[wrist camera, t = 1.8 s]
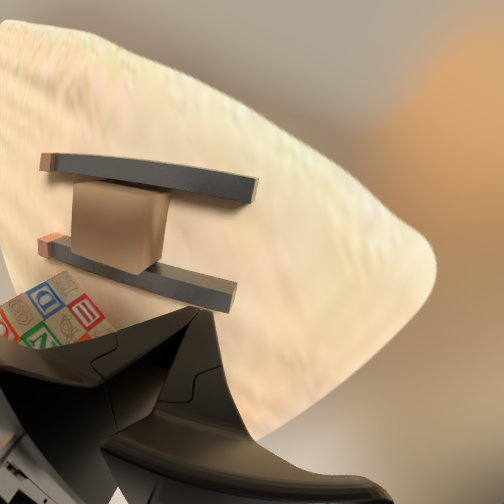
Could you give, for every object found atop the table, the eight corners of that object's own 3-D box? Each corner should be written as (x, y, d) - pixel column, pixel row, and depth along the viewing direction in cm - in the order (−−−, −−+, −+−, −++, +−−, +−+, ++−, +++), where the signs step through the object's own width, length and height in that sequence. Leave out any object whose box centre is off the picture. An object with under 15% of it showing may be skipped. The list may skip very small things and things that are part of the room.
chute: (234, 300, 20) (227, 317, 18) (55, 247, 21) (38, 254, 19) (258, 178, 18) (254, 178, 15) (60, 152, 19) (41, 152, 16)
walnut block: (162, 256, 20) (137, 275, 16) (101, 238, 20) (71, 252, 17) (171, 191, 19) (144, 197, 15) (106, 179, 19) (74, 183, 15)
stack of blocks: (219, 416, 24) (189, 515, 13) (184, 431, 26) (150, 513, 14) (66, 267, 22) (-29, 323, 10) (49, 301, 24) (-27, 355, 12)
